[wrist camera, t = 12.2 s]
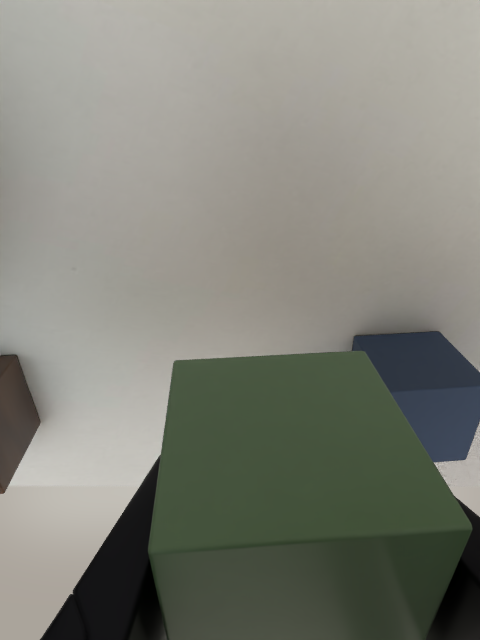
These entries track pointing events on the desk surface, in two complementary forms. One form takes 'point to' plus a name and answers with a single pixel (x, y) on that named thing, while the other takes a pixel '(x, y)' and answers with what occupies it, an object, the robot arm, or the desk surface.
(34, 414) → the walnut block
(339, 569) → the green block
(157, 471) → the robot arm
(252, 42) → the desk surface
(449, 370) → the blue block
